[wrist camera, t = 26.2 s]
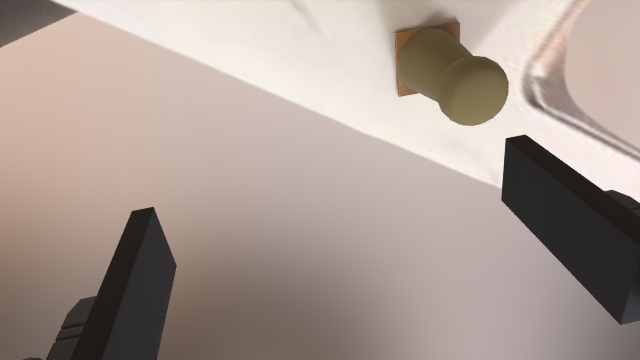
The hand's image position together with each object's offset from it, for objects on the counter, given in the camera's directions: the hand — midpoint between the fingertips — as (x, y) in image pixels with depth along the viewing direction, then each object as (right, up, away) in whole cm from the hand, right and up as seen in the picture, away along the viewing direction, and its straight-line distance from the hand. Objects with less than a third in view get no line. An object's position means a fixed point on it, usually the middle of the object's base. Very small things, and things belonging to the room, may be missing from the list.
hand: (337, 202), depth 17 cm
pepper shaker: (+10, +12, +25) cm, 30 cm away
